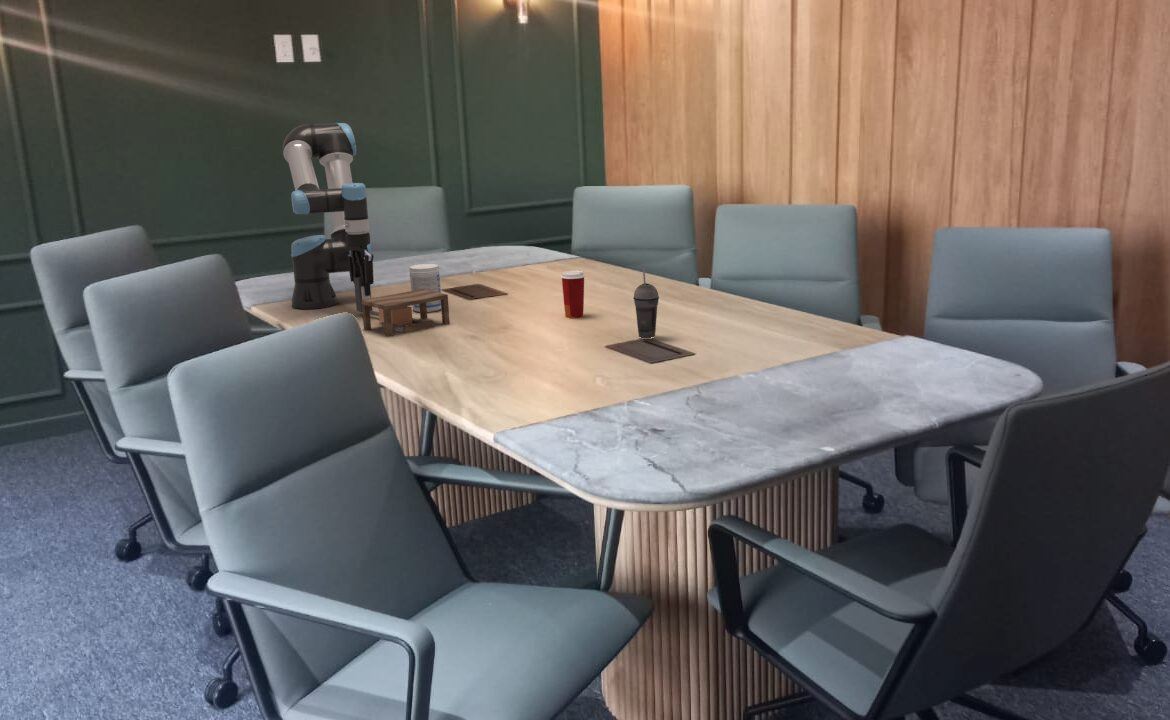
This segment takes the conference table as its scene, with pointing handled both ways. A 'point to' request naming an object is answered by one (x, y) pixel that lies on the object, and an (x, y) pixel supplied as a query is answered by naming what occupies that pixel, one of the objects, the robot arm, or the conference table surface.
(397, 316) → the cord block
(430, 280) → the supplement tub
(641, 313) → the beverage cup
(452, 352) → the conference table surface
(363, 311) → the shelf
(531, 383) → the conference table surface
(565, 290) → the paper cup
